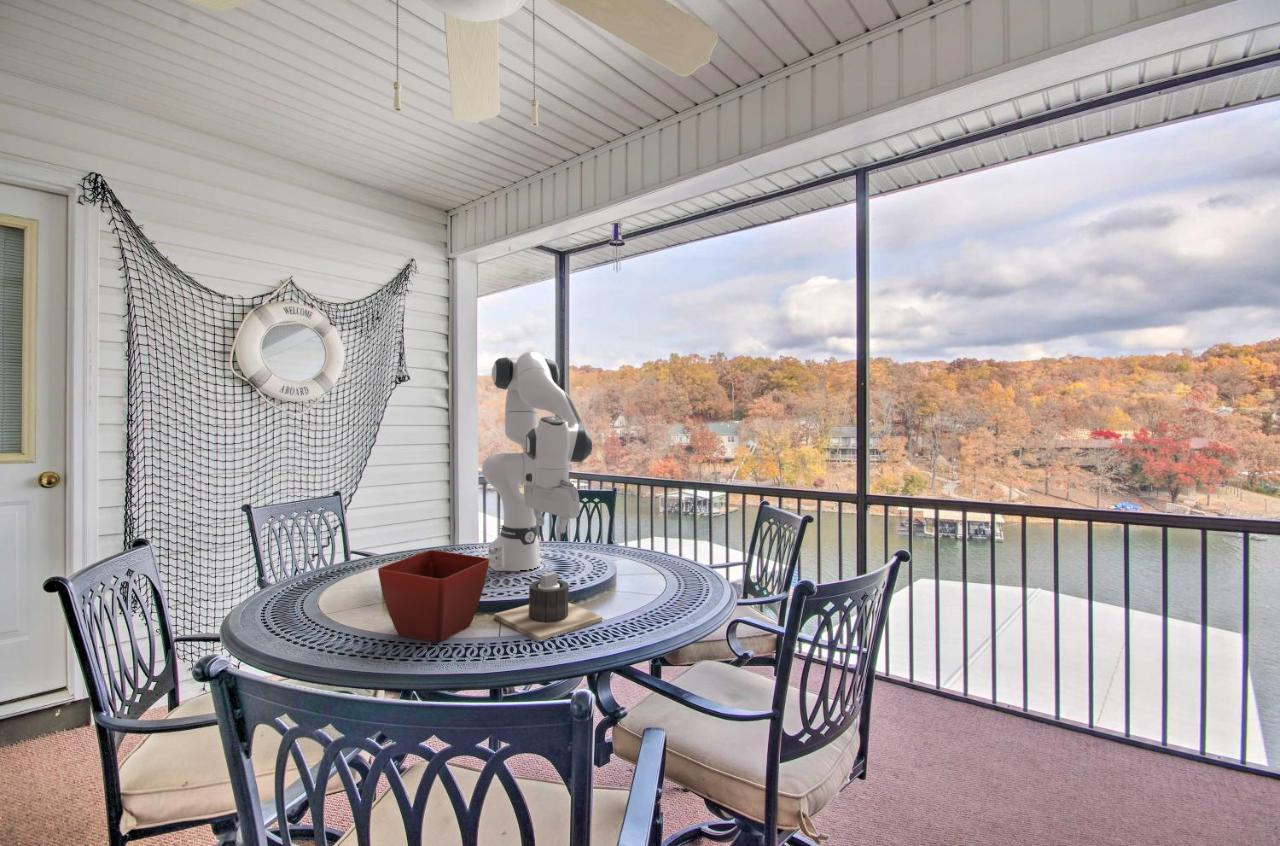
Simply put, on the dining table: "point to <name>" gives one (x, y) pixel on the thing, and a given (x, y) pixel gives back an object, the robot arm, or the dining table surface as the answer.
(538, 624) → the stand
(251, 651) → the dining table surface
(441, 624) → the plant pot
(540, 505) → the robot arm
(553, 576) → the white short cylinder
